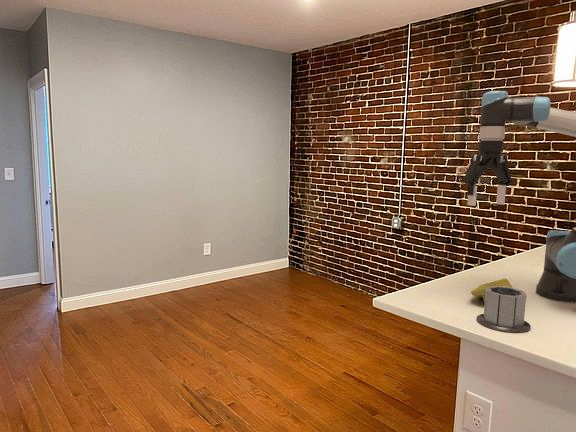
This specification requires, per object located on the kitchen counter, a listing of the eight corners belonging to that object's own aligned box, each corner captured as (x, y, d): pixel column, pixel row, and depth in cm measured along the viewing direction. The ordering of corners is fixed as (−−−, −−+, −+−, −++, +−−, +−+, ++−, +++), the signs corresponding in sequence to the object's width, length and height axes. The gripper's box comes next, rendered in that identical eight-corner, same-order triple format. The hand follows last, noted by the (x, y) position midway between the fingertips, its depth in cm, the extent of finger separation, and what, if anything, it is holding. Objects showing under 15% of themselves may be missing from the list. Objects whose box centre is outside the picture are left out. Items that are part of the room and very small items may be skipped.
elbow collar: (530, 325, 123) (533, 294, 122) (506, 330, 119) (509, 298, 118) (499, 313, 132) (502, 284, 131) (476, 318, 128) (478, 288, 127)
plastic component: (481, 284, 157) (510, 277, 152) (489, 304, 156) (518, 297, 150) (466, 293, 141) (497, 285, 136) (475, 315, 140) (507, 308, 134)
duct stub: (511, 314, 133) (512, 296, 133) (541, 332, 119) (543, 313, 119) (467, 315, 132) (468, 297, 131) (493, 333, 118) (494, 314, 117)
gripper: (507, 141, 152) (502, 202, 154) (454, 139, 141) (449, 204, 144) (527, 141, 145) (521, 204, 148) (473, 138, 134) (467, 207, 137)
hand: (486, 205), depth 146 cm, fingers open, 13 cm apart
